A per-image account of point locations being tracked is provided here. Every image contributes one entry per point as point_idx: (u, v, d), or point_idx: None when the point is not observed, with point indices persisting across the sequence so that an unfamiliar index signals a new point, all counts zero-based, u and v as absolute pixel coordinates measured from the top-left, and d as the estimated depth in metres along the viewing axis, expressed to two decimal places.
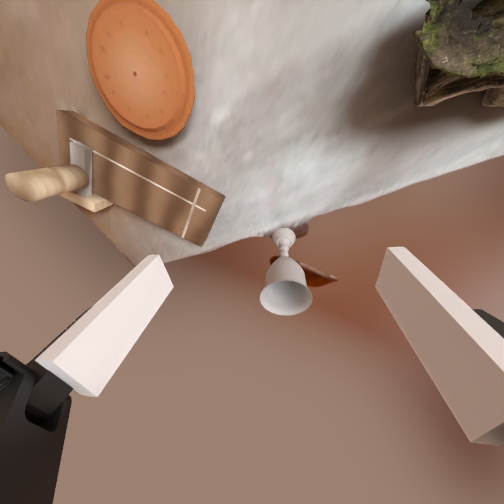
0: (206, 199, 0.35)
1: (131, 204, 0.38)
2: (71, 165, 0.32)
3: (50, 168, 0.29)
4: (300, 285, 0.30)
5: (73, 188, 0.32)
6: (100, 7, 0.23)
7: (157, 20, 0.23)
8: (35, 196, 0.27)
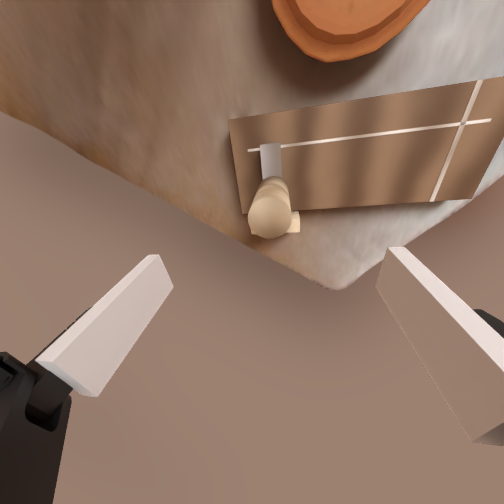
0: (495, 93, 0.18)
1: (338, 195, 0.26)
2: (268, 178, 0.23)
3: (266, 185, 0.20)
4: None
5: None
6: None
7: None
8: (290, 220, 0.17)
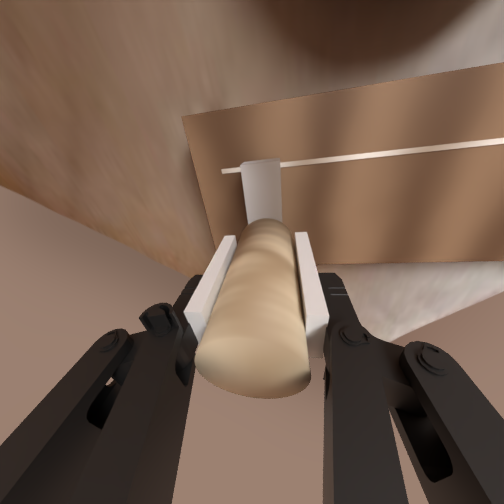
0: None
1: (378, 245, 0.15)
2: (258, 224, 0.12)
3: (250, 252, 0.09)
4: None
5: None
6: None
7: None
8: (308, 380, 0.06)
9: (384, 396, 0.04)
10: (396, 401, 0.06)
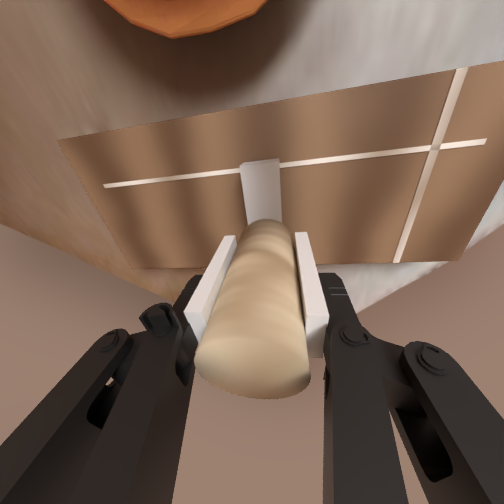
0: (492, 93, 0.10)
1: None
2: (258, 224, 0.12)
3: (249, 252, 0.09)
4: None
5: None
6: None
7: None
8: (307, 380, 0.06)
9: (384, 396, 0.04)
10: (397, 401, 0.06)
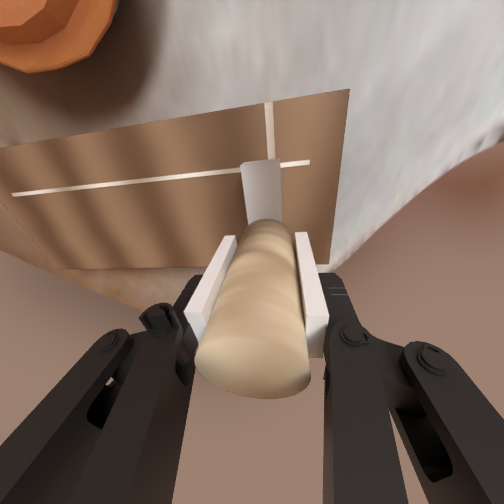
0: (299, 123, 0.11)
1: (157, 253, 0.18)
2: (258, 224, 0.12)
3: (250, 252, 0.09)
4: None
5: None
6: None
7: None
8: (308, 380, 0.06)
9: (384, 396, 0.04)
10: (396, 401, 0.06)
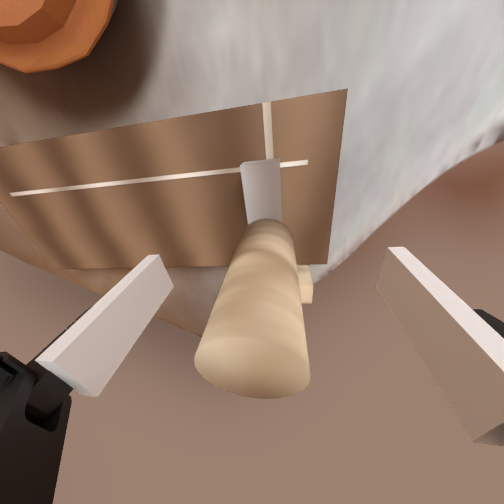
0: (297, 123, 0.11)
1: (156, 253, 0.18)
2: (258, 224, 0.12)
3: (250, 252, 0.09)
4: None
5: None
6: None
7: None
8: (307, 380, 0.06)
9: None
10: None
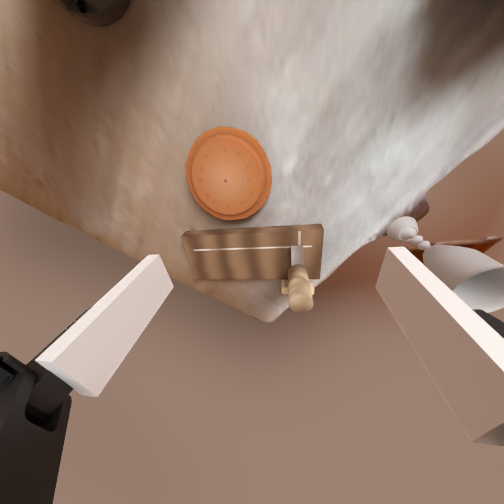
0: (309, 236, 0.37)
1: (247, 273, 0.44)
2: (295, 266, 0.37)
3: (296, 277, 0.34)
4: None
5: None
6: (190, 156, 0.32)
7: (228, 136, 0.29)
8: (312, 305, 0.31)
9: None
10: None
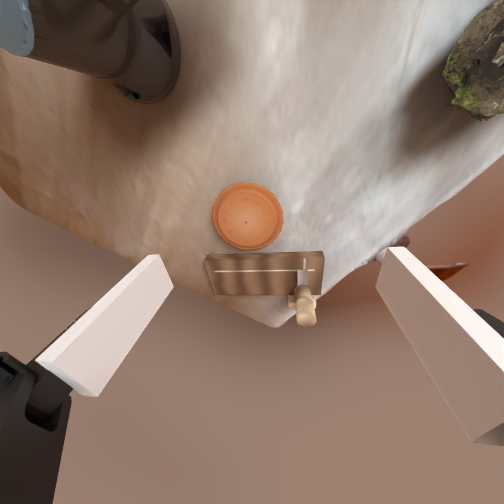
0: (312, 262, 0.45)
1: (260, 290, 0.52)
2: (301, 287, 0.45)
3: (302, 297, 0.43)
4: None
5: None
6: (217, 203, 0.39)
7: (249, 190, 0.36)
8: (315, 321, 0.39)
9: None
10: None
